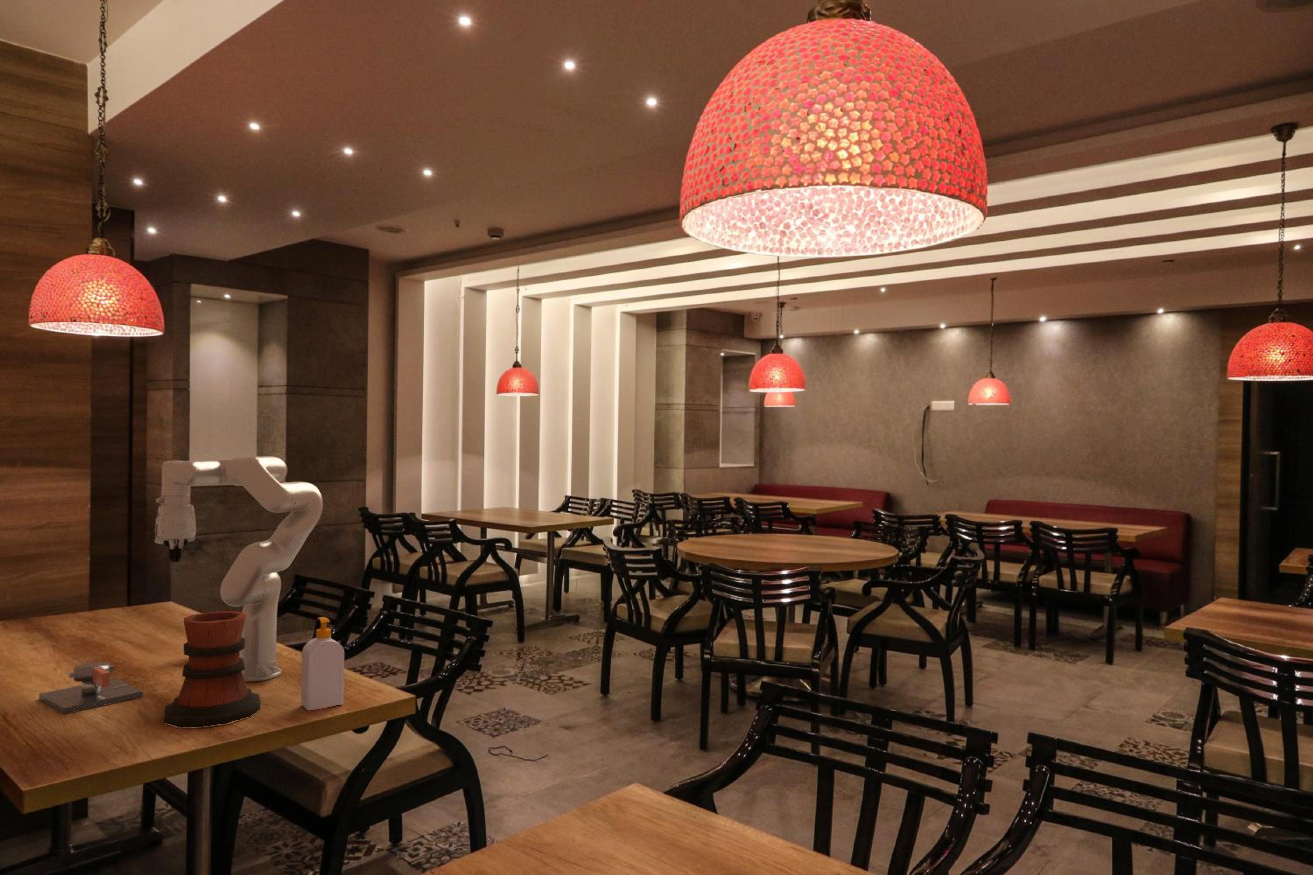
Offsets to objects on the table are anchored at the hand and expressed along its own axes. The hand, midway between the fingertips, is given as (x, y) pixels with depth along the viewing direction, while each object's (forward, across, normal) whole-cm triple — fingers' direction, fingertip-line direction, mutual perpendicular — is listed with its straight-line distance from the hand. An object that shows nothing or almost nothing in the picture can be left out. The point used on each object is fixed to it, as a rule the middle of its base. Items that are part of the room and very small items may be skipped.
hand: (174, 561), depth 245 cm
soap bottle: (+32, +15, -65) cm, 74 cm away
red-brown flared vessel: (+32, -6, -51) cm, 60 cm away
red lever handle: (+27, -25, -21) cm, 42 cm away
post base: (+32, -25, -17) cm, 44 cm away
